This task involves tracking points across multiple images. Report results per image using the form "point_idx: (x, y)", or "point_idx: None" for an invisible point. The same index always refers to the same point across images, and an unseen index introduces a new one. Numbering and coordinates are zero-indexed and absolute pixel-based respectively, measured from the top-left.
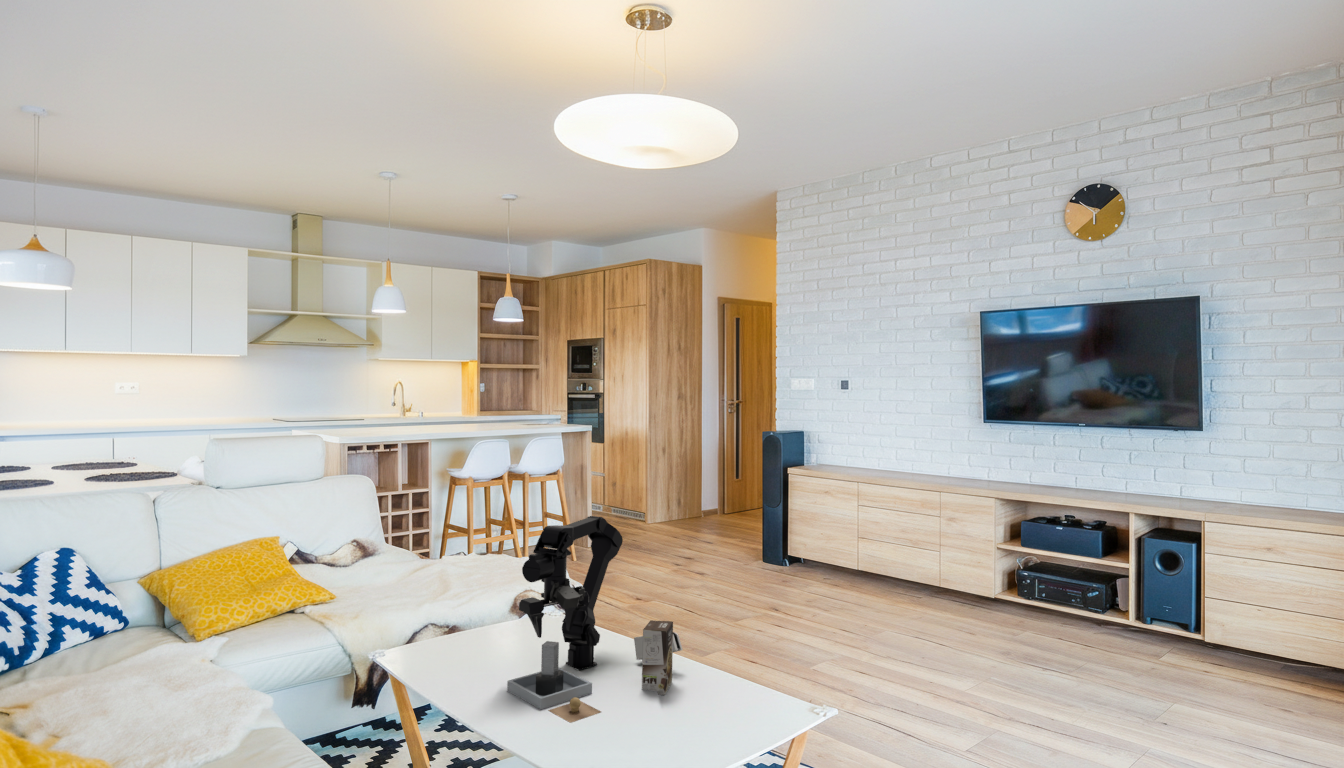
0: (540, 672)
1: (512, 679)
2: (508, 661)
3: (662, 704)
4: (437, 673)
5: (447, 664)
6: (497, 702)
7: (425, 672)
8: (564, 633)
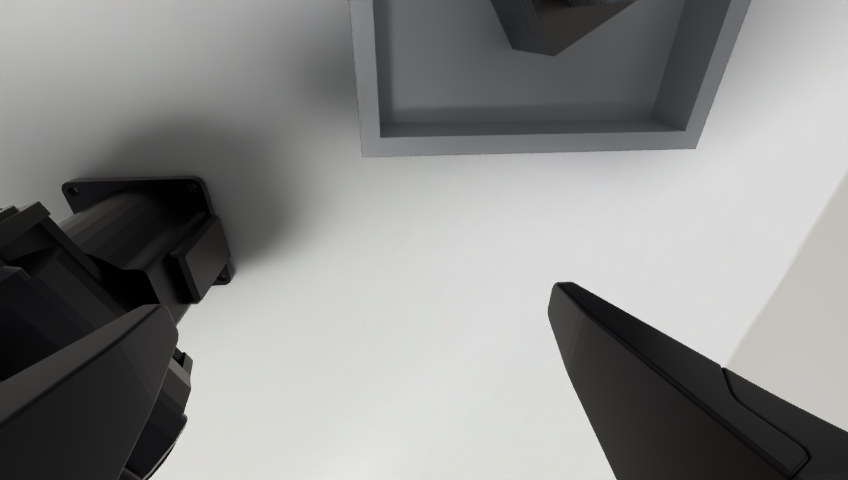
0: (626, 3)
1: (668, 146)
2: (414, 398)
3: None
4: None
5: (563, 447)
6: (740, 78)
7: None
8: (183, 382)
